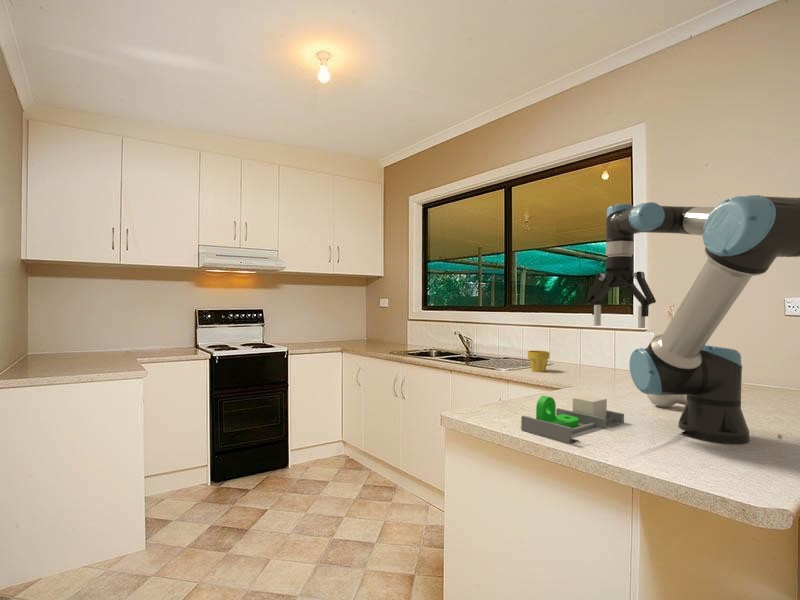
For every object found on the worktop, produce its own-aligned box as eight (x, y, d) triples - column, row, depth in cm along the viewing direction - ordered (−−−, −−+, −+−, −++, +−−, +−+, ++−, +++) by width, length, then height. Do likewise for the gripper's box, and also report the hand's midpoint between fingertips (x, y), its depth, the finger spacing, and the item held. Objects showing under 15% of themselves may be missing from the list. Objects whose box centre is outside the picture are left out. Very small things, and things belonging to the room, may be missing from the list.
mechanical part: (556, 433, 113) (557, 401, 113) (536, 428, 117) (536, 397, 118) (583, 426, 120) (583, 395, 120) (562, 421, 125) (563, 392, 125)
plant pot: (527, 371, 223) (527, 351, 223) (527, 369, 233) (527, 349, 233) (549, 373, 220) (549, 352, 220) (548, 370, 230) (549, 350, 230)
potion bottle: (643, 408, 154) (696, 420, 146) (644, 395, 147) (699, 407, 139) (648, 384, 158) (700, 394, 150) (649, 370, 151) (702, 380, 143)
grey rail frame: (623, 427, 124) (624, 413, 124) (569, 444, 108) (569, 428, 108) (576, 416, 135) (577, 404, 135) (521, 430, 119) (521, 416, 120)
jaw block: (606, 420, 126) (606, 398, 126) (592, 424, 122) (593, 401, 122) (586, 416, 131) (586, 395, 131) (572, 419, 127) (572, 398, 127)
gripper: (669, 254, 130) (668, 328, 130) (587, 260, 150) (587, 324, 150) (657, 252, 126) (656, 329, 126) (575, 258, 146) (574, 324, 145)
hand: (618, 326), depth 138 cm, fingers open, 13 cm apart
